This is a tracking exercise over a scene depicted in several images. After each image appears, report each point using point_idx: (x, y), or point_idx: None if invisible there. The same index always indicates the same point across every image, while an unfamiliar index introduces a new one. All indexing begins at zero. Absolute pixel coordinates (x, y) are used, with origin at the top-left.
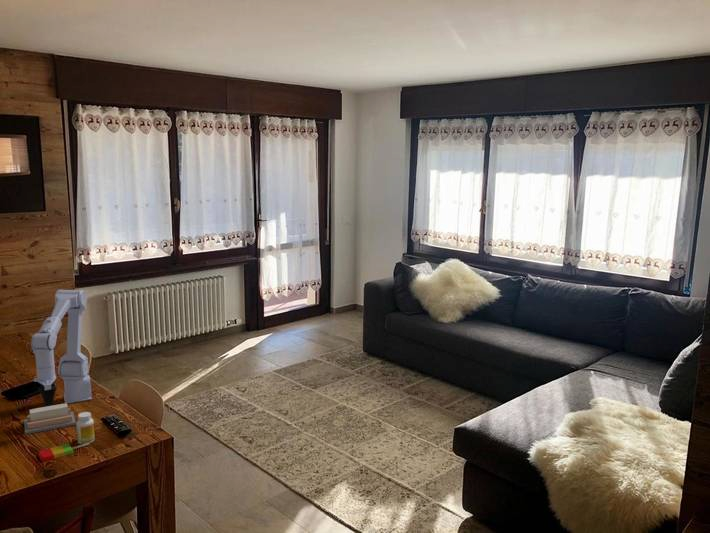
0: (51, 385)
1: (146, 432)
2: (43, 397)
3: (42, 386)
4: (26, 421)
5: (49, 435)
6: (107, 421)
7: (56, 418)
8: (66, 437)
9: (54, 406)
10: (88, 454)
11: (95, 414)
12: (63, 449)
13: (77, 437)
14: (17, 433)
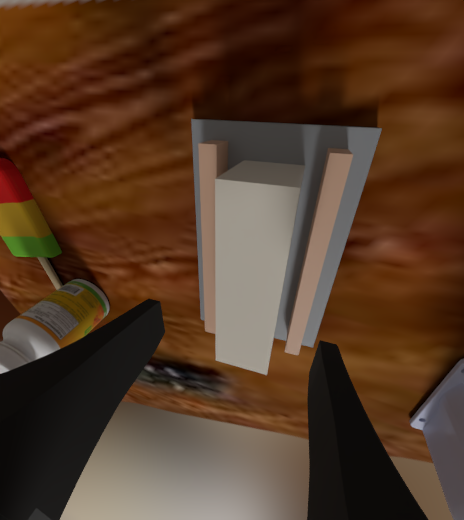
0: (309, 514)
1: None
2: (55, 353)
3: (337, 485)
4: (340, 141)
5: (151, 220)
6: (190, 371)
7: (209, 284)
8: (121, 263)
9: (255, 325)
10: (22, 277)
11: (257, 374)
12: (10, 236)
13: (61, 288)
14: (230, 72)
